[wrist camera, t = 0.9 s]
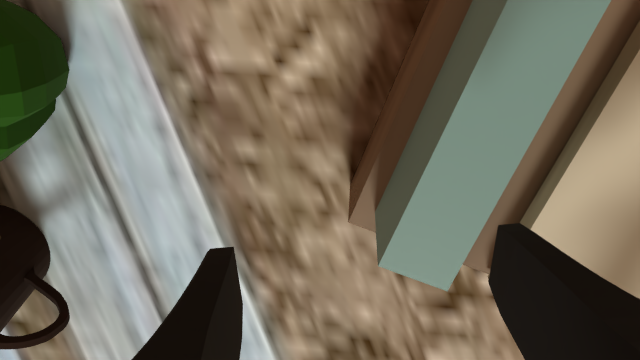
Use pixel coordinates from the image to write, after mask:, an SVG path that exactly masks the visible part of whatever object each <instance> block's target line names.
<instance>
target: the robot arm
mask: <svg viewBox="0 0 640 360" xmlns="http://www.w3.org/2000/svg"><path fill="white" fill-rule="evenodd" d="M488 282H489V285H490V288H491V291H492V293H493V296H494V299H495V302H496V304H497V307H498V309H499V312H500V314H501V316H502V318H503V320H504V322H505V324H506V326H507V327H508V329H509V331H510V333H511V335H512V337H513V339H514V340H515V342H516V344H517V346H518V348H519V350H520V351H521V353H522V355H523V357H524V359H525V360H640V299H639V298H637V297H635V296H633V295H631V294H630V293H628V292H626V291H624V290H623V289H621V288H619V287H618V286H616V285H614V284H612V283H611V282H609V281H607V280H606V279H604V278H602V277H601V276H599V275H598V274H596V273H594V272H593V271H591V270H590V269H588V268H586V267H585V266H583V265H582V264H580V263H579V262H577V261H576V260H574V259H573V258H571V257H570V256H568V255H567V254H565V253H564V252H562V251H561V250H559V249H558V248H557V247H555V246H554V245H552V244H551V243H549V242H548V241H546V240H545V239H543V238H542V237H541V236H539V235H538V234H536V233H535V232H533V231H532V230H530V229H529V228H527V227H525V226H524V225H522V224H521V223H515V224H503V225H498V229H497V235H496V240H495V246H494V252H493V258H492V263H491V269H490V275H489V281H488ZM242 316H243V303H242V296H241V290H240V284H239V278H238V271H237V265H236V259H235V253H234V247H226V248H214V249H210V250H209V251H208V252H207V253H206V255H205V257H204V259H203V261H202V263H201V265H200V266H199V268H198V270H197V272H196V273H195V275H194V277H193V278H192V280H191V282H190V283H189V285H188V286H187V288H186V290H185V291H184V293H183V294H182V296H181V297H180V299H179V300H178V302H177V303H176V305H175V306H174V308H173V309H172V310H171V312H170V313H169V314H168V316H167V317H166V318H165V320H164V321H163V323H162V324H161V325H160V327H159V328H158V329H157V331H156V332H155V333H154V334H153V336H152V337H151V338H150V339H149V340H148V342H147V343H146V344H145V345H144V346H143V347H142V349H141V350H140V351H139V352H138V353H137V354H136V355H135V357H134V358H133V359H132V360H239V358H240V350H241V342H242Z"/></svg>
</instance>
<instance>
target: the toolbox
mask: <svg viewBox="0 0 640 360" xmlns="http://www.w3.org/2000/svg"><path fill="white" fill-rule="evenodd" d="M472 1H473V0H429V2H428V4H427V7H426V9H425V11H424V14H423V16H422V18H421V21H420V23H419V25H418V28H417V30H416V32H415V35H414V37H413V39H412V42H411V44H410V46H409V49H408V51H407V53H406V56H405V58H404V60H403V63H402V65H401V67H400V70H399V72H398V74H397V77H396V79H395V81H394V84H393V86H392V88H391V91H390V93H389V95H388V98H387V100H386V102H385V105H384V107H383V109H382V112H381V114H380V116H379V119H378V121H377V123H376V126H375V128H374V130H373V133H372V135H371V137H370V140H369V142H368V144H367V147H366V149H365V151H364V154H363V156H362V158H361V160H360V163H359V165H358V167H357V170H356V172H355V174H354V177H353V179H352V181H351V184H350V199H349V219H348V222H349V223H352V224H354V225H357V226H360V227H362V228H365V229H368V230H371V231H373V232H376V224H375V211H376V209H377V207H378V204H379V202H380V200H381V198H382V196H383V194H384V191H385V189H386V187H387V185H388V183H389V181H390V178H391V176H392V174H393V172H394V170H395V168H396V165H397V163H398V161H399V159H400V157H401V155H402V152H403V150H404V148H405V146H406V144H407V141H408V139H409V137H410V135H411V133H412V131H413V128H414V126H415V124H416V122H417V120H418V118H419V115H420V113H421V111H422V109H423V107H424V105H425V102H426V100H427V98H428V96H429V94H430V92H431V89H432V87H433V85H434V83H435V81H436V79H437V76H438V74H439V72H440V70H441V68H442V66H443V63H444V61H445V59H446V57H447V55H448V53H449V50H450V48H451V46H452V44H453V42H454V40H455V37H456V35H457V33H458V31H459V29H460V27H461V24H462V22H463V20H464V18H465V16H466V14H467V11H468V9H469V7H470V5H471V3H472ZM639 21H640V0H611V2H610V3H609V5H608V7H607V9H606V11H605V12H604V14H603V16H602V18H601V19H600V21H599V23H598V25H597V27H596V28H595V30H594V32H593V34H592V35H591V37H590V39H589V41H588V42H587V44H586V46H585V48H584V50H583V51H582V53H581V55H580V57H579V58H578V60H577V62H576V64H575V66H574V67H573V69H572V71H571V73H570V74H569V76H568V78H567V80H566V81H565V83H564V85H563V87H562V89H561V90H560V92H559V94H558V96H557V97H556V99H555V101H554V103H553V105H552V106H551V108H550V110H549V112H548V113H547V115H546V117H545V119H544V121H543V122H542V124H541V126H540V128H539V129H538V131H537V133H536V135H535V136H534V138H533V140H532V142H531V144H530V145H529V147H528V149H527V151H526V152H525V154H524V156H523V158H522V160H521V161H520V163H519V165H518V167H517V168H516V170H515V172H514V174H513V175H512V177H511V179H510V181H509V183H508V184H507V186H506V188H505V190H504V191H503V193H502V195H501V197H500V199H499V200H498V202H497V204H496V206H495V207H494V209H493V211H492V213H491V214H490V216H489V218H488V220H487V222H486V223H485V225H484V227H483V229H482V230H481V232H480V234H479V236H478V238H477V239H476V241H475V243H474V245H473V246H472V248H471V250H470V252H469V253H468V255H467V257H466V259H465V261H464V262H463V265H466V266H468V267H471V268H474V269H476V270H479V271H482V272H485V273H487V274H489V273H490V269H491V263H492V258H493V252H494V246H495V240H496V235H497V229H498V225H503V224H515V223H520V221H521V220H522V218H523V216H524V214H525V213H526V211H527V209H528V208H529V206H530V204H531V203H532V201H533V199H534V198H535V196H536V194H537V193H538V191H539V189H540V188H541V186H542V184H543V182H544V181H545V179H546V177H547V176H548V174H549V172H550V171H551V169H552V167H553V166H554V164H555V162H556V161H557V159H558V157H559V156H560V154H561V152H562V150H563V149H564V147H565V145H566V144H567V142H568V140H569V139H570V137H571V135H572V134H573V132H574V130H575V129H576V127H577V125H578V124H579V122H580V120H581V118H582V117H583V115H584V113H585V112H586V110H587V108H588V107H589V105H590V103H591V102H592V100H593V98H594V97H595V95H596V93H597V92H598V90H599V88H600V86H601V85H602V83H603V81H604V80H605V78H606V76H607V75H608V73H609V71H610V70H611V68H612V66H613V65H614V63H615V61H616V60H617V58H618V56H619V54H620V53H621V51H622V49H623V48H624V46H625V44H626V43H627V41H628V39H629V38H630V36H631V34H632V33H633V31H634V29H635V28H636V26H637V24H638V22H639Z"/></svg>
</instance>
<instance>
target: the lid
mask: <svg viewBox="0 0 640 360" xmlns="http://www.w3.org/2000/svg"><path fill="white" fill-rule="evenodd" d="M520 223H521V224H522V225H524V226H525V227H527V228H529V229H530V230H532V231H533V232H535V233H536V234H538V235H539V236H541V237H542V238H543V239H545V240H546V241H548V242H549V243H551V244H552V245H554V246H555V247H557V248H558V249H559V250H561V251H562V252H564V253H565V254H567V255H568V256H570V257H571V258H573V259H574V260H576V261H577V262H579V263H580V264H582V265H583V266H585V267H586V268H588V269H590V270H591V271H593V272H594V273H596V274H598V275H599V276H601V277H602V278H604V279H606V280H607V281H609V282H611V283H612V284H614V285H616V286H618V287H619V288H621V289H623V290H624V291H626V292H628V293H630V294H631V295H633V296H635V297H637V298H639V299H640V21H639V22H638V24H637V26H636V28H635V29H634V31H633V33H632V34H631V36H630V38H629V39H628V41H627V43H626V44H625V46H624V48H623V49H622V51H621V53H620V54H619V56H618V58H617V60H616V61H615V63H614V65H613V66H612V68H611V70H610V71H609V73H608V75H607V76H606V78H605V80H604V81H603V83H602V85H601V86H600V88H599V90H598V92H597V93H596V95H595V97H594V98H593V100H592V102H591V103H590V105H589V107H588V108H587V110H586V112H585V113H584V115H583V117H582V118H581V120H580V122H579V124H578V125H577V127H576V129H575V130H574V132H573V134H572V135H571V137H570V139H569V140H568V142H567V144H566V145H565V147H564V149H563V150H562V152H561V154H560V156H559V157H558V159H557V161H556V162H555V164H554V166H553V167H552V169H551V171H550V172H549V174H548V176H547V177H546V179H545V181H544V182H543V184H542V186H541V188H540V189H539V191H538V193H537V194H536V196H535V198H534V199H533V201H532V203H531V204H530V206H529V208H528V209H527V211H526V213H525V214H524V216H523V218H522V220H521V221H520ZM489 275H490V273H489ZM489 275H488V278H489Z"/></svg>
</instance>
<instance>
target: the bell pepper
mask: <svg viewBox="0 0 640 360" xmlns="http://www.w3.org/2000/svg"><path fill="white" fill-rule="evenodd" d="M68 74H69V66H68V63H67V60H66V56H65V53H64V49H63V46H62V42H61V39H60V38H59V37H58V36H57V35H56V34H55V33H54V32H53V31H52V30H51V29H50V28H49V27H48V26H47V25H46V24H45V23H44V22H43V21H42V20H41V19H40V18H39V17H38V16H37V15H36V14H34V13H32V12H30V11H28V10H26V9H24V8H22V7H20V6H18V5H16V4H14V3H11V2H9V1H6V0H0V161H2V160H3V159H5V158H6V157H8V156H9V155H10V154H11V153H13V152H14V151H15V150H16V149H18V148H19V147H20V146H21V145H22V144H24V143H25V142H26V141H27V140H29V139H30V138H31V137H32V136H33V135H34V134H35V133H36V132H37V131H38V130H39V129H40V128H41V127H42V126H43V125H44V123H45V122H46V121H47V120H48V119H49V117H50V116H51V115H52V113H53V112H54V111H55V104H56V99H55V98H57V97H58V96H59V95H60V94H61V92H62V91H63V90H64V89H65V88H66V84H67V79H68Z"/></svg>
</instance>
